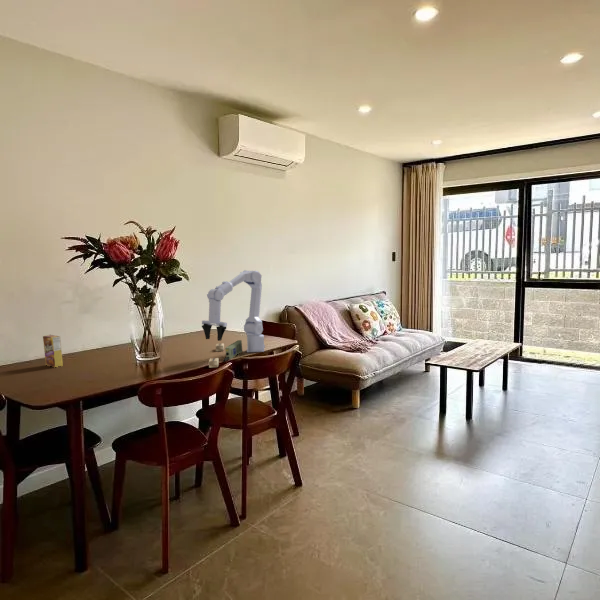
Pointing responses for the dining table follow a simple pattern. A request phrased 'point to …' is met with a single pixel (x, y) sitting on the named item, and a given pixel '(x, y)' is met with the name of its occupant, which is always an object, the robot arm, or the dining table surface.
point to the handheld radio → (233, 350)
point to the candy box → (52, 350)
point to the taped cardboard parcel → (215, 361)
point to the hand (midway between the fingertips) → (213, 339)
